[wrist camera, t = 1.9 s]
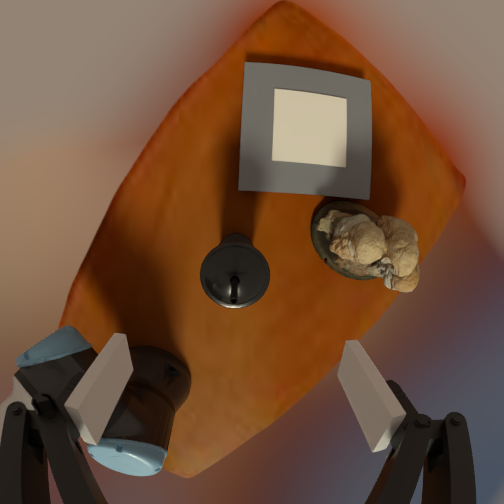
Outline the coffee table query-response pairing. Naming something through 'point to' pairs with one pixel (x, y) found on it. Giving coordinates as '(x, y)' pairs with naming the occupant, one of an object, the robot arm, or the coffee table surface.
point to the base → (305, 132)
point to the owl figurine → (366, 244)
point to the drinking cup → (235, 272)
